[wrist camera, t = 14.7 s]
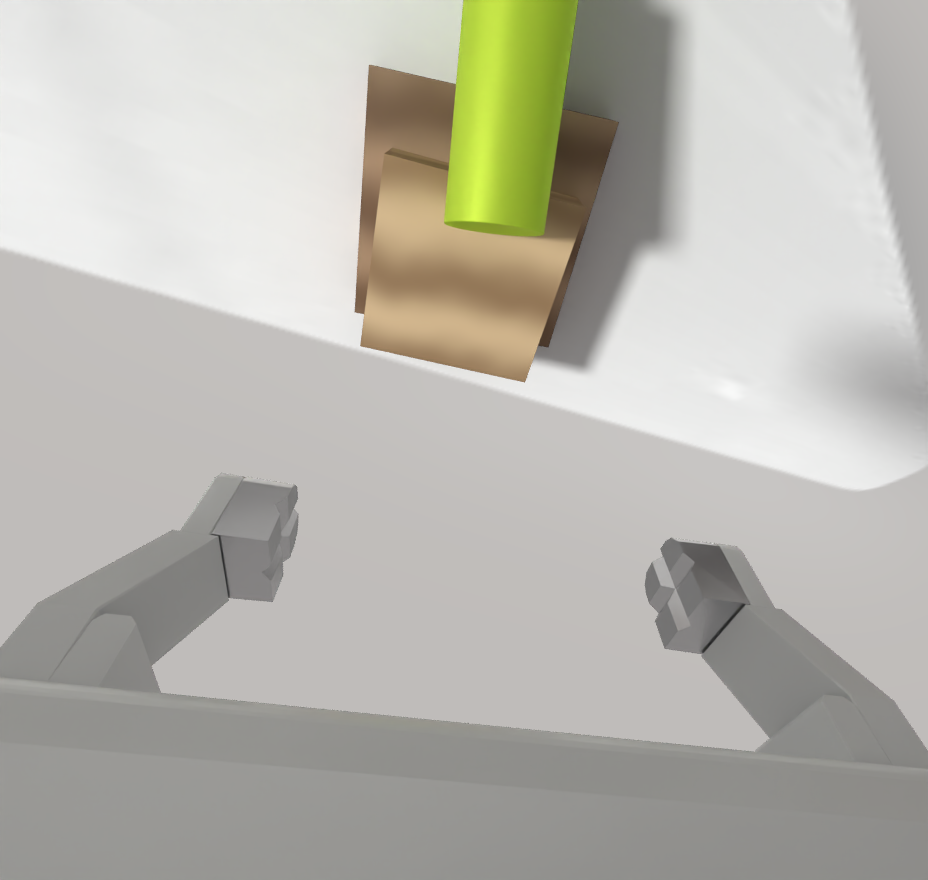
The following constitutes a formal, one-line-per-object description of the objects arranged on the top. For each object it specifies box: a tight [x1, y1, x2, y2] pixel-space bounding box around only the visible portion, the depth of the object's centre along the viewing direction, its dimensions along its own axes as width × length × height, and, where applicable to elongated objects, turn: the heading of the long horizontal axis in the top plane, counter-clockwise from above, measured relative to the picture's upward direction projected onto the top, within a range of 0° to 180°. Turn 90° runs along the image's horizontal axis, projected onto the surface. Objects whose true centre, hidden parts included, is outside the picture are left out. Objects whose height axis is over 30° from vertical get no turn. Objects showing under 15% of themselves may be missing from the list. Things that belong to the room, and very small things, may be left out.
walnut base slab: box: [355, 65, 619, 347], centre depth 37 cm, size 16×16×4 cm
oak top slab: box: [360, 148, 587, 382], centre depth 36 cm, size 13×13×4 cm
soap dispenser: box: [444, 0, 578, 236], centre depth 26 cm, size 6×7×20 cm
